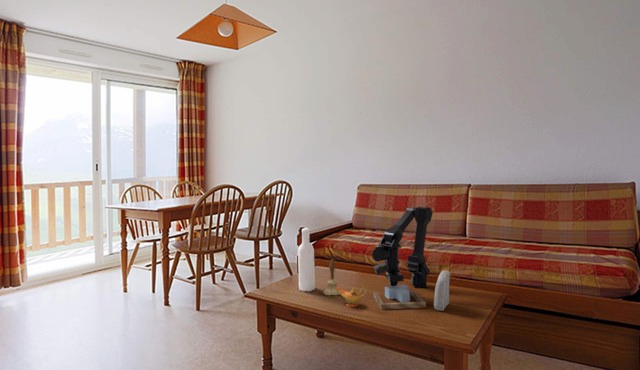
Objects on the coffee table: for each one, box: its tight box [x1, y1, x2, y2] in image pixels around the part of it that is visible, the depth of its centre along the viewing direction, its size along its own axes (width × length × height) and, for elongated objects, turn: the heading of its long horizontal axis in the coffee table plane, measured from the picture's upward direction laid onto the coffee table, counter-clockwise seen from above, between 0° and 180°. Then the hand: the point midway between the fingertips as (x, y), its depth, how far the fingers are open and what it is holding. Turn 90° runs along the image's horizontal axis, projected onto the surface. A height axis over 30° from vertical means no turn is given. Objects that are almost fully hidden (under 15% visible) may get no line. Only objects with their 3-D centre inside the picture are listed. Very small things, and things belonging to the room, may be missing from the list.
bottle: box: [297, 227, 316, 292], centre depth 188 cm, size 8×8×30 cm
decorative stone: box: [433, 270, 451, 312], centre depth 160 cm, size 11×6×15 cm, turn 151°
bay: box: [373, 290, 427, 310], centre depth 167 cm, size 19×16×2 cm
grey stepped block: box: [384, 284, 411, 303], centre depth 171 cm, size 10×10×4 cm
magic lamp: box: [332, 281, 367, 308], centre depth 166 cm, size 7×18×11 cm, turn 50°
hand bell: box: [323, 259, 341, 296], centre depth 182 cm, size 8×8×16 cm
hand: (392, 291), depth 178 cm, fingers closed
